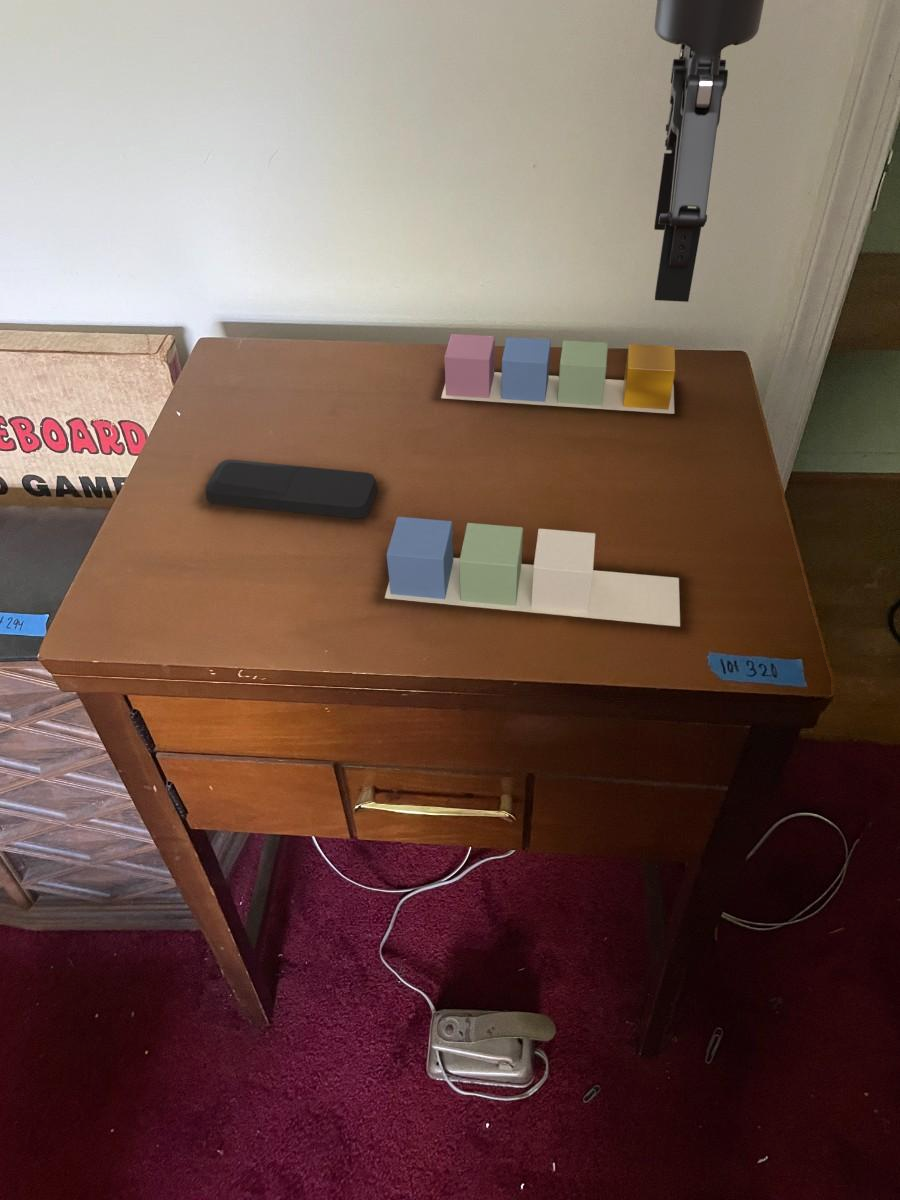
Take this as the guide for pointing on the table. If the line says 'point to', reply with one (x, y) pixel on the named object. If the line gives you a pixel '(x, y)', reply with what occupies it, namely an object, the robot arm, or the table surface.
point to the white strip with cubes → (521, 574)
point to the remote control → (292, 488)
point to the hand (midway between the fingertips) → (670, 262)
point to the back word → (533, 374)
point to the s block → (649, 376)
